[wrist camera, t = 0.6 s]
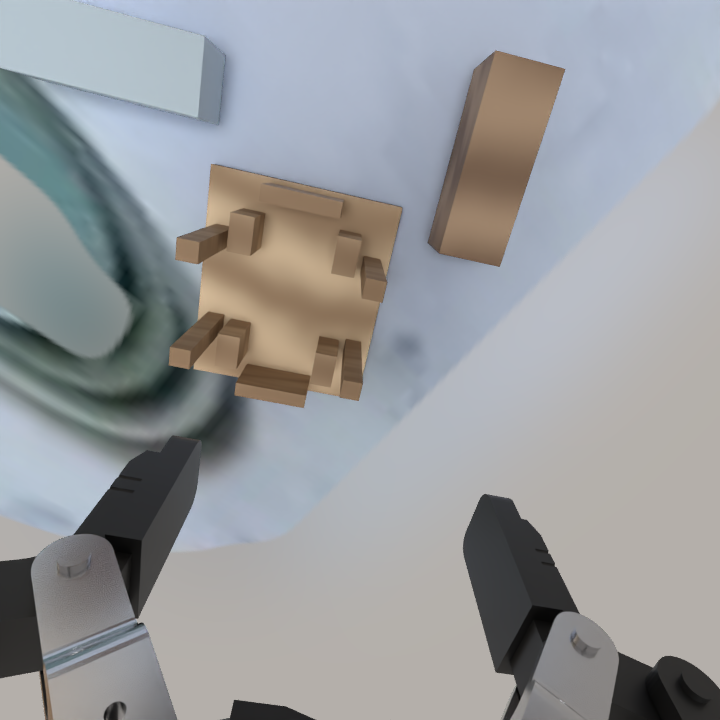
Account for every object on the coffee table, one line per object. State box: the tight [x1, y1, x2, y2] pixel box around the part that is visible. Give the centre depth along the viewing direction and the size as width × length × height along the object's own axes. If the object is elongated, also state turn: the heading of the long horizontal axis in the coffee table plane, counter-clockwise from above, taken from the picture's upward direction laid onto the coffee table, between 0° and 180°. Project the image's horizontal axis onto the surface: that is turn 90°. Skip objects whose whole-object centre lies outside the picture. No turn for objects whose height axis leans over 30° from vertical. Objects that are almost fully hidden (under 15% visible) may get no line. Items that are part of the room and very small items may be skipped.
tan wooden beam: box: [428, 51, 565, 267], centre depth 29 cm, size 11×4×5 cm, turn 168°
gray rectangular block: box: [0, 0, 226, 125], centre depth 27 cm, size 4×11×4 cm, turn 77°
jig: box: [169, 164, 402, 408], centre depth 30 cm, size 15×13×8 cm
